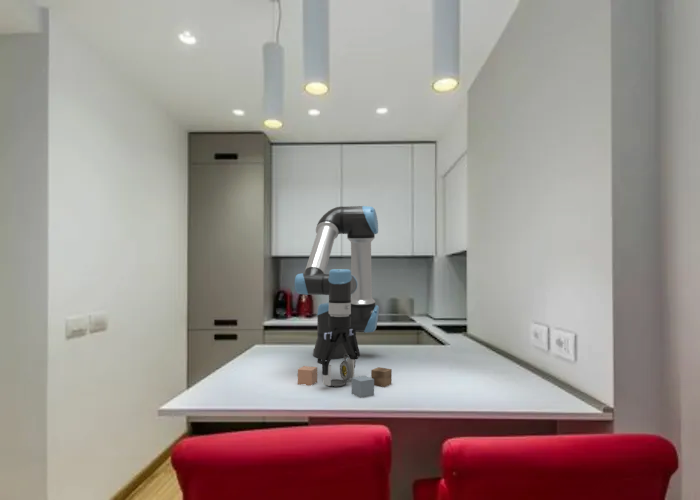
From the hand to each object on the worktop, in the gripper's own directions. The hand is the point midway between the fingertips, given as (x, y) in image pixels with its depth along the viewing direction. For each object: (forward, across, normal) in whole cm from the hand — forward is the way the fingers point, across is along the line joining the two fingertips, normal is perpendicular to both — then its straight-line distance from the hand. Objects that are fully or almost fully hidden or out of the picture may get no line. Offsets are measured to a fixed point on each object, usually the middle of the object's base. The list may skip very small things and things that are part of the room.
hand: (339, 381), depth 150 cm
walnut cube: (+1, +10, -10) cm, 14 cm away
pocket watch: (+1, 0, 0) cm, 1 cm away
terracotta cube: (+1, -6, +9) cm, 11 cm away
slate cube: (+1, -3, -13) cm, 13 cm away
